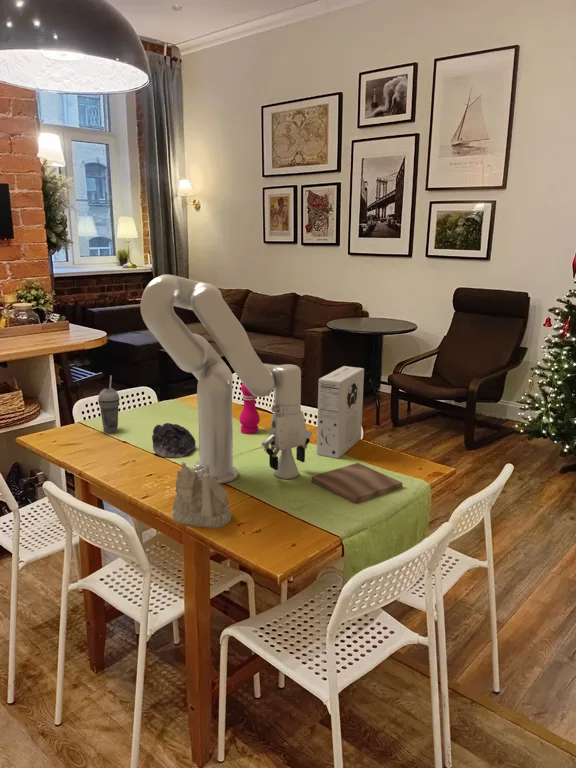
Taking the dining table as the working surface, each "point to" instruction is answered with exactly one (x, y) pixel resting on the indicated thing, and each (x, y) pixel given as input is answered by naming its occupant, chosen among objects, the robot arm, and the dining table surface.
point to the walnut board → (356, 482)
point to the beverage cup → (109, 408)
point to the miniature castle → (200, 500)
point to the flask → (286, 465)
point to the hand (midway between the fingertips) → (287, 464)
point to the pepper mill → (249, 413)
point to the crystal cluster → (172, 440)
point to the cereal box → (339, 411)
